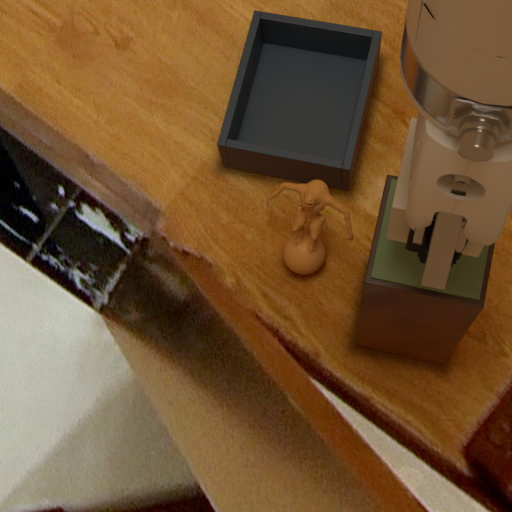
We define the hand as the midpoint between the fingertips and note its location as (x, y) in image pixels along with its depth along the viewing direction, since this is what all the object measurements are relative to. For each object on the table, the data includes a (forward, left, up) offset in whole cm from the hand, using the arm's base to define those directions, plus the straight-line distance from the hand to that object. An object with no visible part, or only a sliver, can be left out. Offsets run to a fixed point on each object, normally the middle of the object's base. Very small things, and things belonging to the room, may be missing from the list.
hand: (442, 201), depth 52 cm
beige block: (0, 0, -1) cm, 1 cm away
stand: (0, 0, -28) cm, 28 cm away
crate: (+14, -18, -28) cm, 36 cm away
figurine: (+10, -4, -29) cm, 30 cm away
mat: (0, 0, -6) cm, 6 cm away
